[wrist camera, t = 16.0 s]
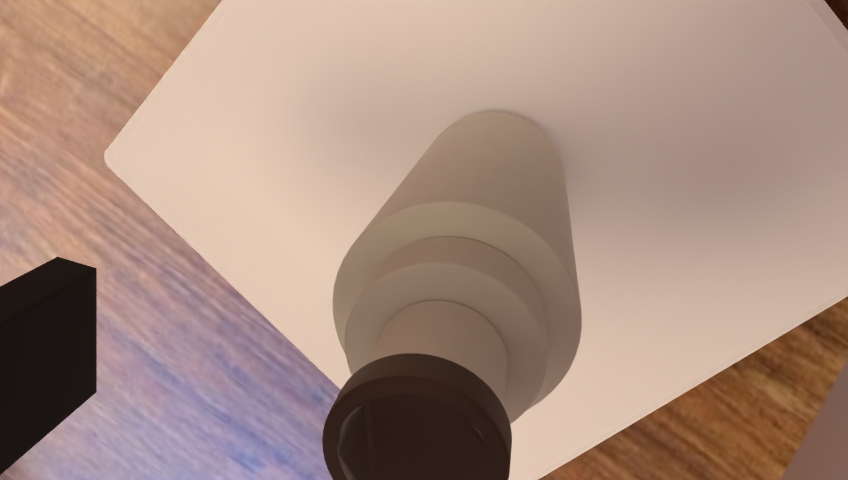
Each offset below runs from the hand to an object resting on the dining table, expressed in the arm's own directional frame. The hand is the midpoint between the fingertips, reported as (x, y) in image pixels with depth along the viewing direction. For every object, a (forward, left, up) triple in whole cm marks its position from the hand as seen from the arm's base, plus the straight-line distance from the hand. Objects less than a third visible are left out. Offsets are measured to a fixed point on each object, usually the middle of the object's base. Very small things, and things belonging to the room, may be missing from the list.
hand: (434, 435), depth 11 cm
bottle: (0, 0, -16) cm, 16 cm away
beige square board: (0, 0, -19) cm, 19 cm away
